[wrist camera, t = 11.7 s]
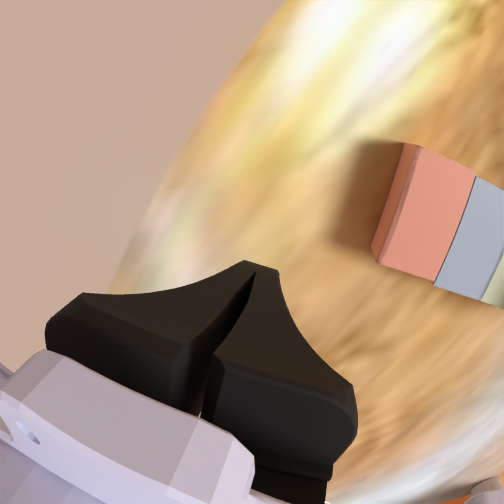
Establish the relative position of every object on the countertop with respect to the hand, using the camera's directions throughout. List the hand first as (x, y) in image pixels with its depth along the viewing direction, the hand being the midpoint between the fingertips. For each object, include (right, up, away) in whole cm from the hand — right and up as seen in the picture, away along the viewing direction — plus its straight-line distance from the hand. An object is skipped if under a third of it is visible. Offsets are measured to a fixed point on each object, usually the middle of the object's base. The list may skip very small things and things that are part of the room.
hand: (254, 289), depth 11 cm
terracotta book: (+10, +4, +7) cm, 13 cm away
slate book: (+14, +3, +7) cm, 16 cm away
